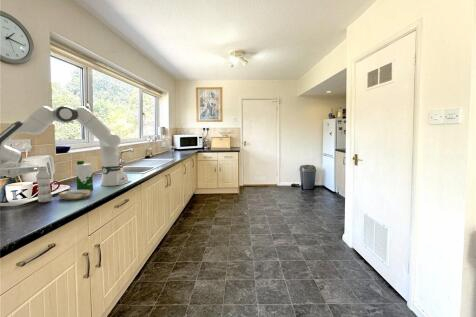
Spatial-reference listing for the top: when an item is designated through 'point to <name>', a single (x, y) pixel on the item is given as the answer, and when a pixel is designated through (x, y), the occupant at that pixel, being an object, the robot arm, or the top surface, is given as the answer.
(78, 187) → the milk carton
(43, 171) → the plastic bottle
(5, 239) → the top surface
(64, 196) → the disc
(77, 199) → the turntable base
